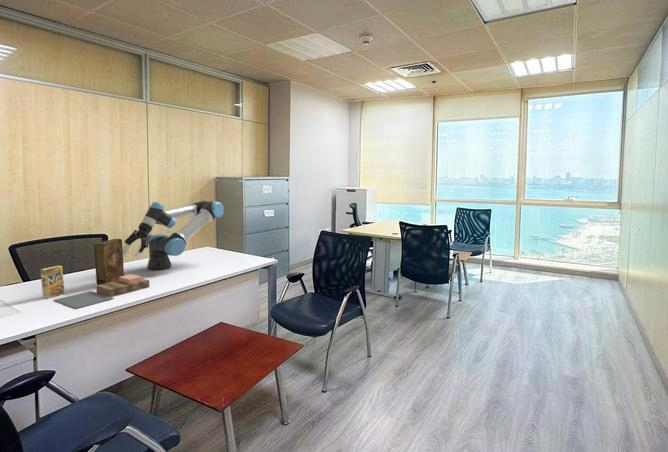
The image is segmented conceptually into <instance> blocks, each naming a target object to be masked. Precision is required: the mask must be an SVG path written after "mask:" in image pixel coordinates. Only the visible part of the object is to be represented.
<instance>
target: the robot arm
mask: <svg viewBox="0 0 668 452" xmlns="http://www.w3.org/2000/svg"><path fill="white" fill-rule="evenodd" d="M223 215H224V205H223V204H222V203H221V202H219V201H212V200H211V201H210V200H201V201H196V202H192V203H189V204H188V205H185V206H180V207H179V206H178V207H175V208H170V209H165V206H164V205H163V204H162V203H160V202H158V201H153V202H152V203H151V204H150V205H149V208H148V209H147V211H146V213H145V215H144V216H143V218H142V220H141V222H140V223H139V225H138V227H137V228H138V230H137V229H135V230H133V232H132V233H131V234H130V235H129V236H128V237H127V238H126V239H125V240H124V243H125V244H124V247H122V250H123V256H126V254H127V252H128V251H129V249H130V248H131V245H132V244H133V243H134V242H136V240H139V239H140V246H138V249H137V250H136V252H135V254H134V257H136V258H137V259H139V258H140V257H141V255H142V254H143V252H144V250H145V249H147V248H148V252H149V258H148V262H147V264H146V267H147V268H146V269H147V270H149V271H161V270H168V269H171V268H172V262H171V260H170V257H169V256H171V257H173V256H174V257H177V256H180V255H181V254H183V253H184V251H185V249H186V246H187V241H189V240H190V239H191V238H193V236H194V235H195V234H197V233H198V232H199V231H200V230H201V229H202V228H203V227H204V226H205V225H207V224H208V223H212V222H213V221H214V220H215V219H219V218H222V217H223ZM190 216H191V217H193V218H192V219H191V220H190V221H188V223H186V224H185V225H184V226H183V227H181V229H180V230H179V231H177V232H173V233H172V234H171V235H170V236H168V234H167V233H162V234H161V233H160V234H152V233H151V232H152V231H153V228H154V227H155V225H161V226H164V227H166V228H168V229H171V228H173V227H174V226H175V225H176V222H177V219H181V218H186V217H190Z"/></svg>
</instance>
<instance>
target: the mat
mask: <svg viewBox="0 0 668 452" xmlns="http://www.w3.org/2000/svg"><path fill="white" fill-rule="evenodd" d="M111 300H114V297H109V296H106V295H103V294H100V293H97V291H96V292H95V291H92V290H89V291H88V290H87V291H85V292H81V293H76V294H73V295H68V296H64V297H59V298H56V299H53V301H54V302H56V303H59V304H61V305H64V306H67V307H70V308H71V309H74V310H78V309H81V308H86V307H89V306H92V305H96V304H101V303H104V302H107V301H111Z"/></svg>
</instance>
